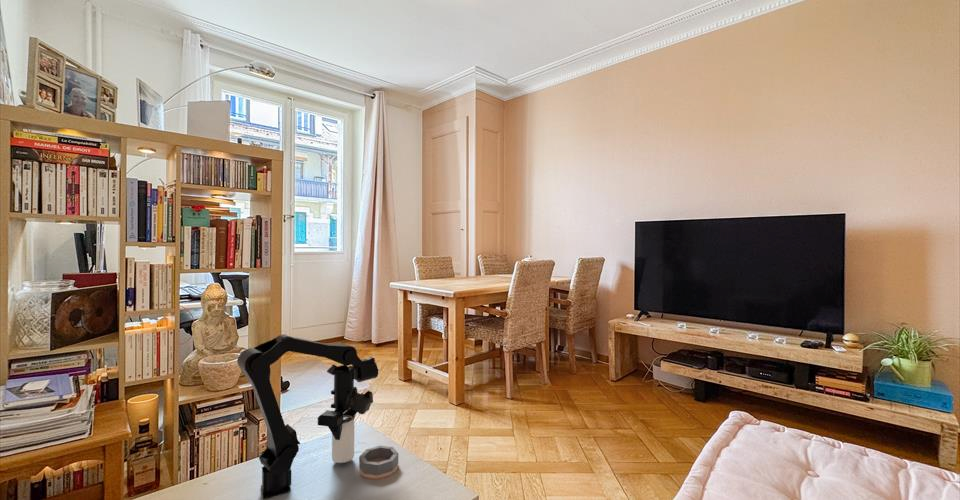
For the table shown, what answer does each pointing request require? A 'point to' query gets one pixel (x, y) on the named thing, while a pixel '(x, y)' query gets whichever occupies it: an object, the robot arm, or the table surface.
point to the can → (344, 442)
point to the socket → (378, 462)
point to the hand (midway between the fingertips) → (343, 436)
